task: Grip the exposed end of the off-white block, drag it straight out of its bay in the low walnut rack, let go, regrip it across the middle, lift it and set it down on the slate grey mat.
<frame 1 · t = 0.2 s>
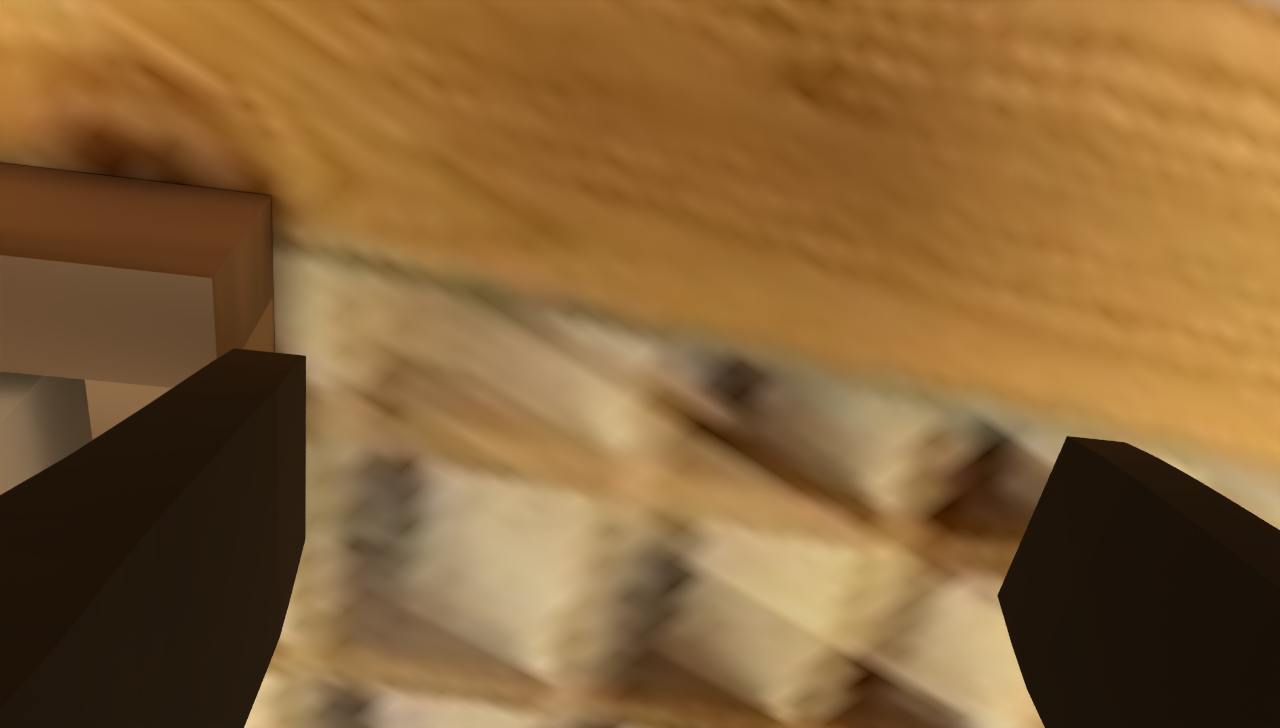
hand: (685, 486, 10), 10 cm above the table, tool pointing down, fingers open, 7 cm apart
off-white block: (8, 499, 21), on the table
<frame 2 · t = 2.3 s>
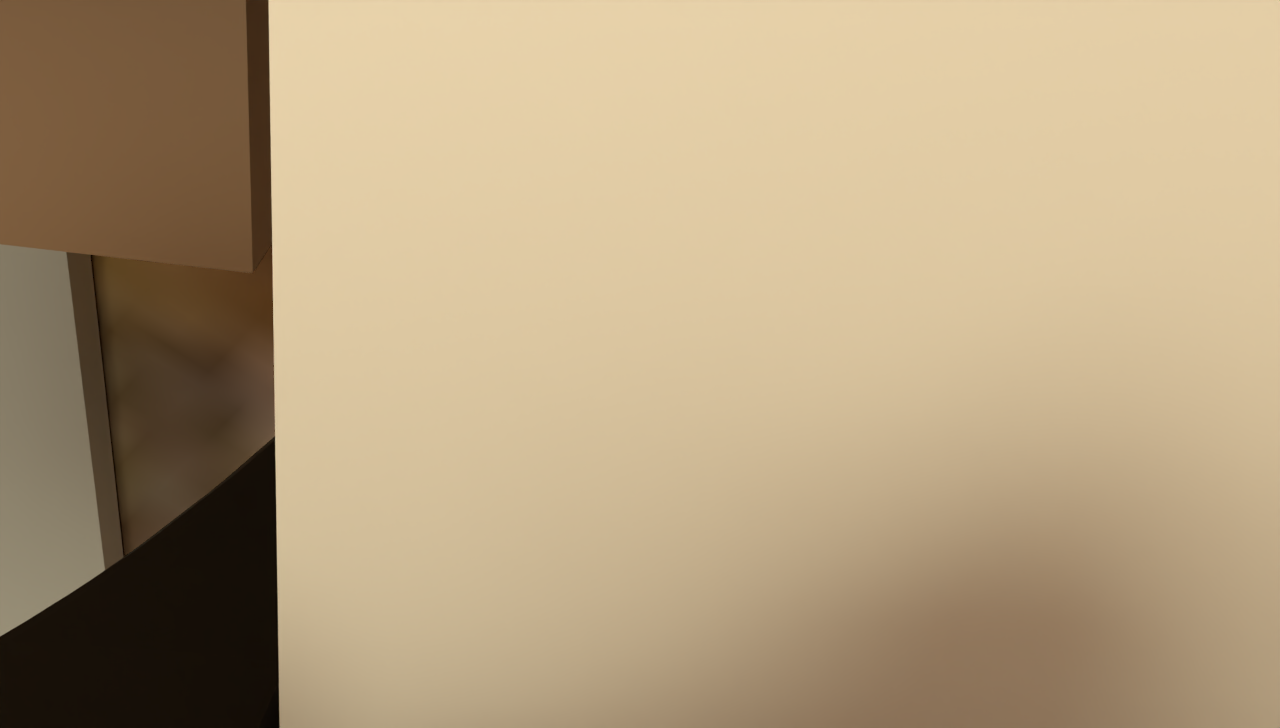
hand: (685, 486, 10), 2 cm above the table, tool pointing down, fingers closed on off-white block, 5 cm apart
off-white block: (720, 118, 10), on the table, touching gripper
when the fingers open (2 cm above the table, at t = 4.7 s): off-white block stays where it is, on the table.
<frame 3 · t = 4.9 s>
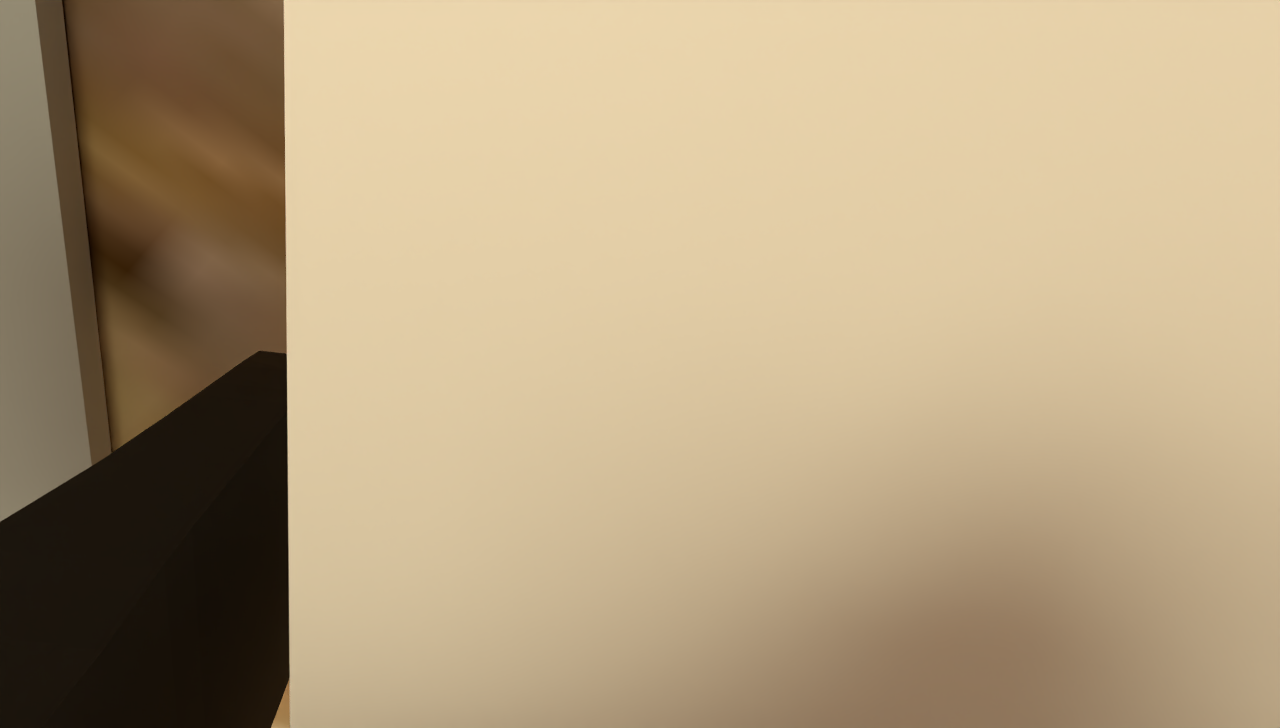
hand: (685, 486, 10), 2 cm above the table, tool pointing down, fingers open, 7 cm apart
off-white block: (723, 99, 10), on the table
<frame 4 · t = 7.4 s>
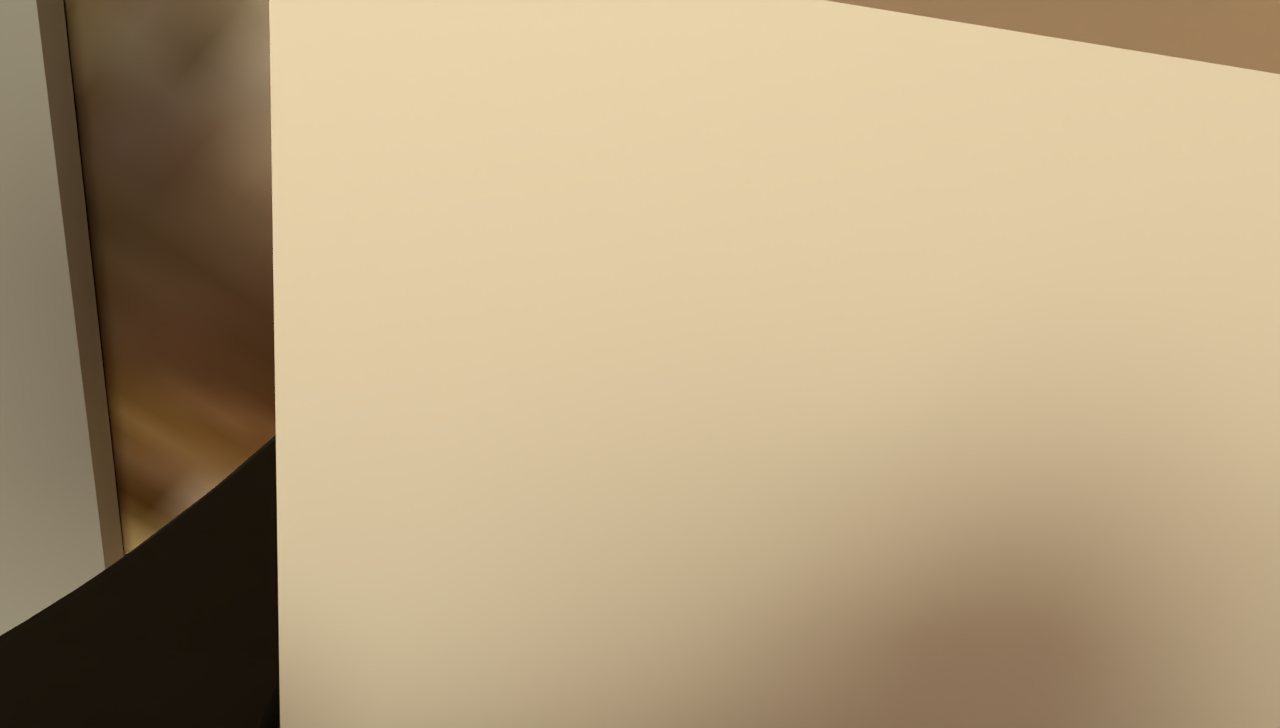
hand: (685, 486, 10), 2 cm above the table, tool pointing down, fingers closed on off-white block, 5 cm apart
off-white block: (669, 369, 11), on the table, touching gripper
when the fingers open (4 cm above the table, at t = 11.0 s): off-white block drops 1 cm, resting on grey mat.
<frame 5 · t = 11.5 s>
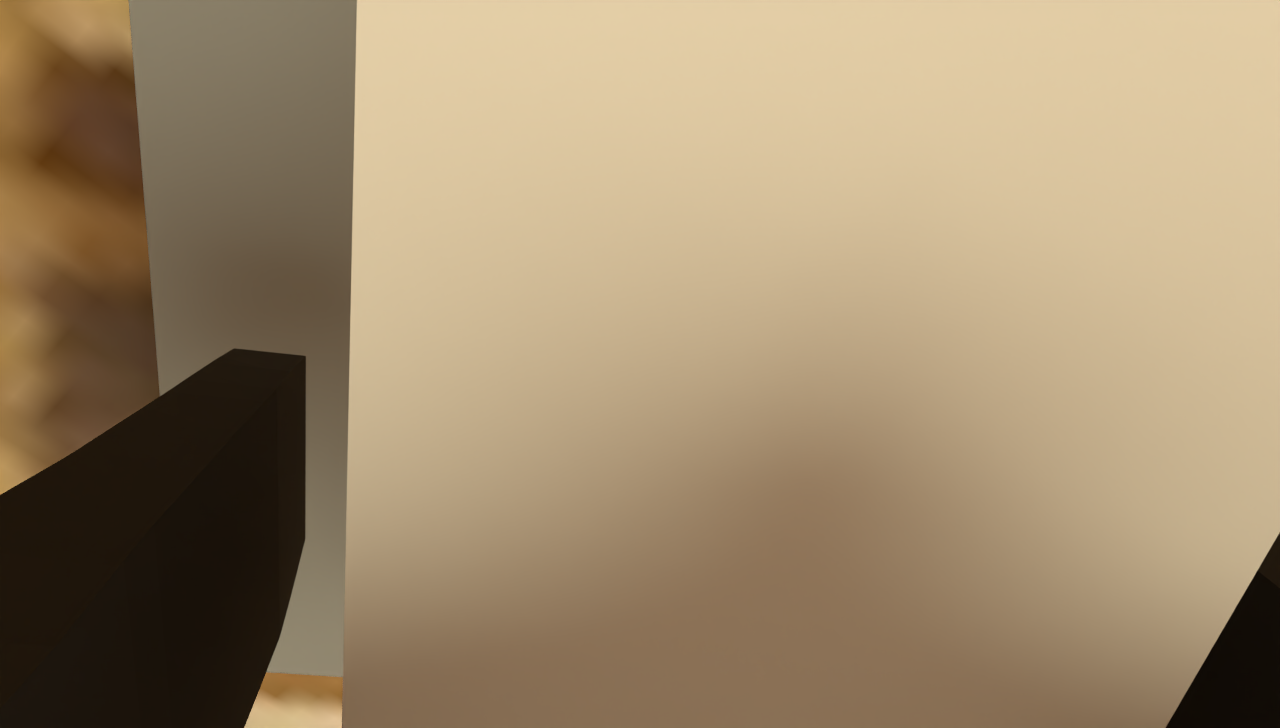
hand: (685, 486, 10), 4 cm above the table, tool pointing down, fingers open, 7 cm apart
grey mat: (654, 304, 13), on the table
off-white block: (658, 303, 12), resting on grey mat
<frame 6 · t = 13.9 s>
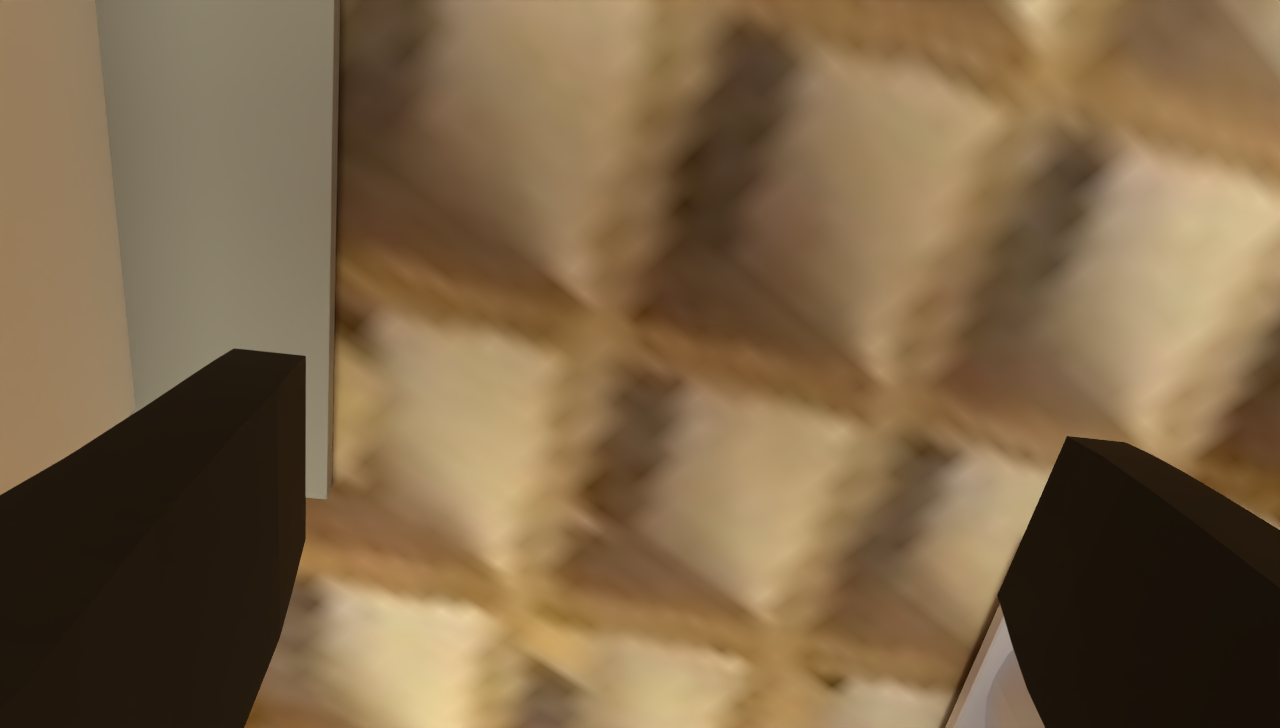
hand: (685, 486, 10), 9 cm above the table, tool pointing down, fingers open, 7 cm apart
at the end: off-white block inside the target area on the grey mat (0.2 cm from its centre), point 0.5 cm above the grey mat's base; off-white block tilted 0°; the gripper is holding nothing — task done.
